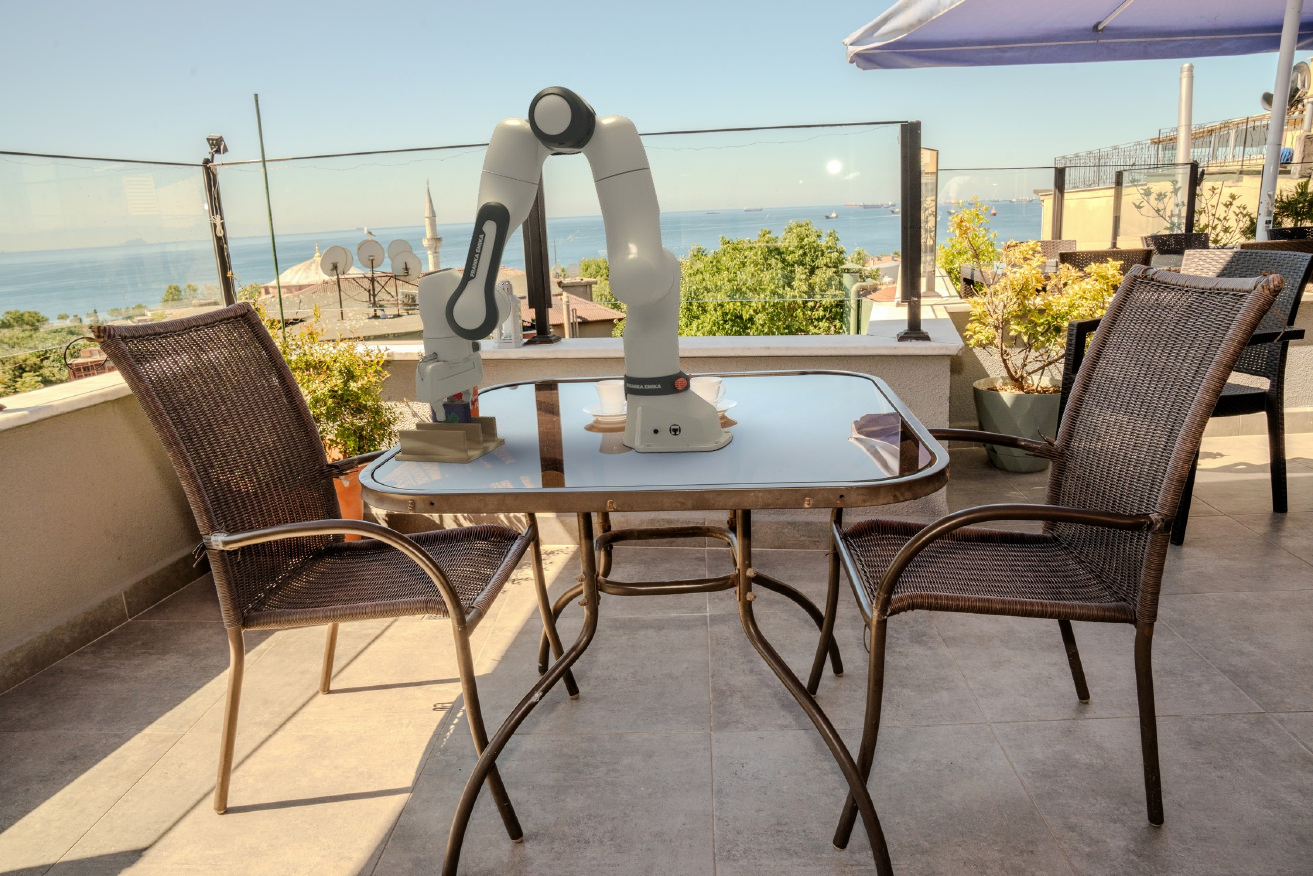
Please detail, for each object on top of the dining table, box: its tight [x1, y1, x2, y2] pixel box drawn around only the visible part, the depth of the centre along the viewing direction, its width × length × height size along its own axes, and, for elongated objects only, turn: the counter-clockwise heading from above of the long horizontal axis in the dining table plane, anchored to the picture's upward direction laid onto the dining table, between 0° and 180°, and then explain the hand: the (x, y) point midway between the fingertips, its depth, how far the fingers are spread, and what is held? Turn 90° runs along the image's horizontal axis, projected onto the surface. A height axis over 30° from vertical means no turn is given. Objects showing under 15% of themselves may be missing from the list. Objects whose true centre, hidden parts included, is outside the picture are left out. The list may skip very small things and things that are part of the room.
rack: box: [394, 415, 506, 464], centre depth 180 cm, size 15×17×6 cm
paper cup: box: [452, 385, 480, 416], centre depth 203 cm, size 8×8×14 cm
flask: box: [430, 395, 472, 423], centre depth 182 cm, size 9×3×11 cm, turn 70°
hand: (454, 414), depth 181 cm, fingers open, 8 cm apart
